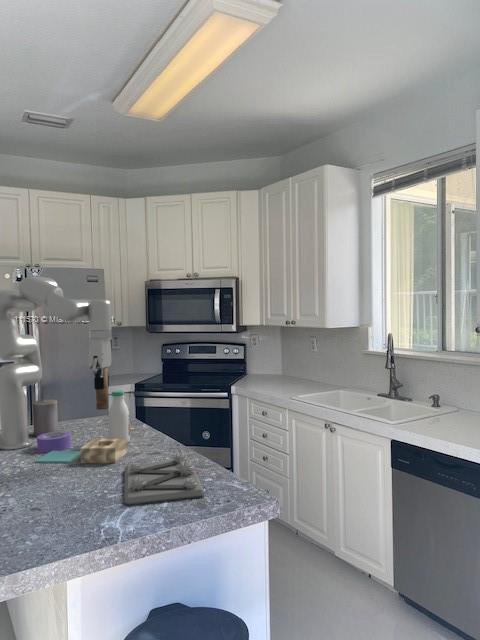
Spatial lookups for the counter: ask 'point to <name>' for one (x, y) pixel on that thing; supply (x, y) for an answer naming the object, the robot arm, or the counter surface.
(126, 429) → the milk bottle
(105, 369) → the walnut peg
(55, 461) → the teal mat
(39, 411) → the pillar candle
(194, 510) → the counter surface
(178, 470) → the decorative plate
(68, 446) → the tape roll
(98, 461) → the eye block
